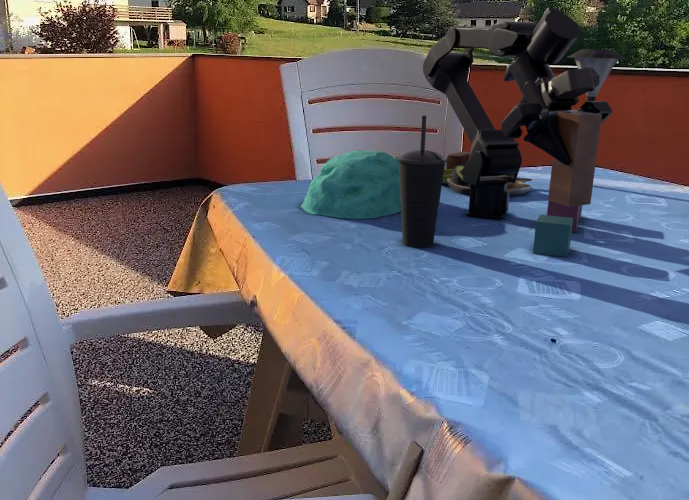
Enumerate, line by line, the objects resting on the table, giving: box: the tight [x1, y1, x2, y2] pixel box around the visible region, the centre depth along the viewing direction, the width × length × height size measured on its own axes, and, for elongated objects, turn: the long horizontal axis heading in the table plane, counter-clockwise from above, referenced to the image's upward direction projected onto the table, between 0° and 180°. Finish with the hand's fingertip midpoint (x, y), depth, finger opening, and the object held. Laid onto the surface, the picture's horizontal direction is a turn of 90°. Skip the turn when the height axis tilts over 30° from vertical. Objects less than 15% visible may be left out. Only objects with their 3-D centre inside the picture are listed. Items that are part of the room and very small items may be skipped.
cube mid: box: [546, 200, 580, 233], centre depth 123 cm, size 5×5×5 cm
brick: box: [445, 150, 470, 170], centre depth 176 cm, size 11×4×5 cm, turn 149°
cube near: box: [532, 214, 573, 258], centre depth 109 cm, size 5×5×5 cm
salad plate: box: [447, 165, 533, 197], centre depth 156 cm, size 19×18×5 cm
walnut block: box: [547, 111, 602, 207], centre depth 110 cm, size 5×5×14 cm
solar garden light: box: [567, 48, 626, 101], centre depth 160 cm, size 12×12×30 cm
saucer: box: [442, 168, 453, 185], centre depth 163 cm, size 9×9×2 cm
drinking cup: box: [396, 115, 447, 248], centre depth 109 cm, size 8×8×20 cm
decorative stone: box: [300, 149, 401, 220], centre depth 139 cm, size 21×27×10 cm
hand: (580, 162), depth 109 cm, fingers closed on walnut block, 4 cm apart
